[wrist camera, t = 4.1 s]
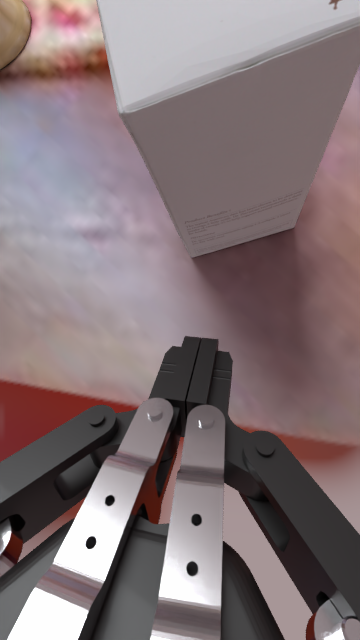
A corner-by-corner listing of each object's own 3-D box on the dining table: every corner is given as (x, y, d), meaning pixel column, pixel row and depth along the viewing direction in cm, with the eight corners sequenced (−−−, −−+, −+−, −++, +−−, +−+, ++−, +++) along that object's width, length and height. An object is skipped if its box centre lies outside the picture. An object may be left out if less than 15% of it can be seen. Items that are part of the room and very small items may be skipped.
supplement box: (266, 133, 21) (306, -184, 9) (296, 230, 20) (392, 14, 8) (164, 167, 22) (76, -75, 10) (187, 261, 21) (116, 115, 9)
